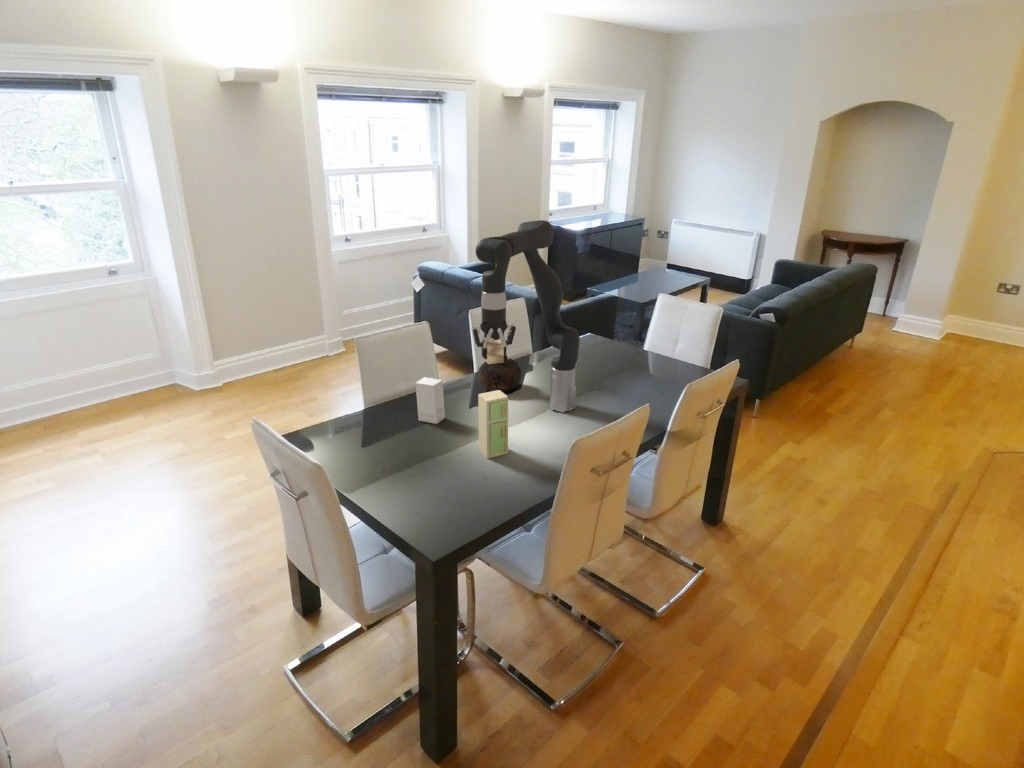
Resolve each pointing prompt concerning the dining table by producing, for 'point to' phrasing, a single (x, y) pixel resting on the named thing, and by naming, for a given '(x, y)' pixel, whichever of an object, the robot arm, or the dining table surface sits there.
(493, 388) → the glass bottle
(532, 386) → the dining table surface
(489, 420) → the toy refrigerator
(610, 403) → the dining table surface
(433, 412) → the skincare box
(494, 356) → the beech block
